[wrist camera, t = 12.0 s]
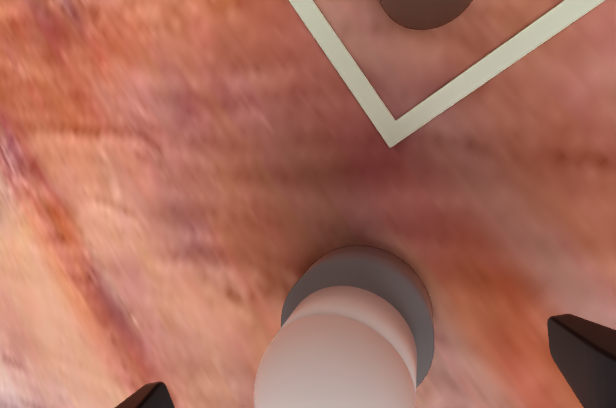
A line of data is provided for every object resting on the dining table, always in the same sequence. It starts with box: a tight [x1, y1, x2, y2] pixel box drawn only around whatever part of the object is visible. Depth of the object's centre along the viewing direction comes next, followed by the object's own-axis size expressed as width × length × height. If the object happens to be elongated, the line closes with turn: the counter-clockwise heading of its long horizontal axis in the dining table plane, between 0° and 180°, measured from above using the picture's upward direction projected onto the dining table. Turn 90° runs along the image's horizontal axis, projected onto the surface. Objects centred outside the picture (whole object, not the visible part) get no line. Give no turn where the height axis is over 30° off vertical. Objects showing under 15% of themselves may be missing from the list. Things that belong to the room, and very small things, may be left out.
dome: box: [254, 286, 417, 408], centre depth 15 cm, size 6×6×6 cm
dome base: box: [281, 246, 434, 388], centre depth 20 cm, size 8×8×3 cm
